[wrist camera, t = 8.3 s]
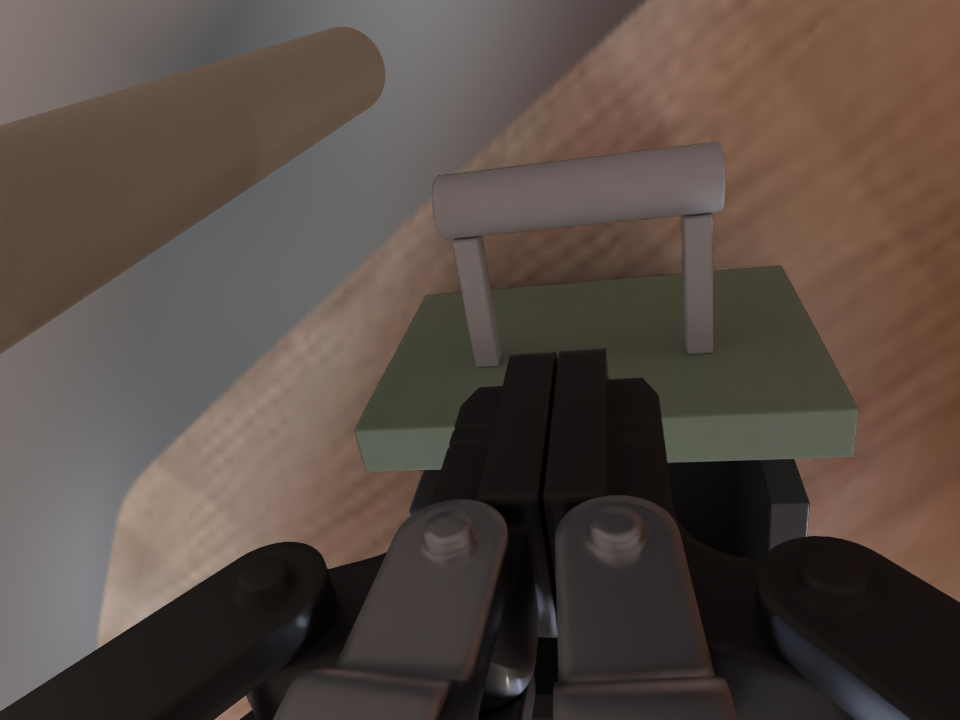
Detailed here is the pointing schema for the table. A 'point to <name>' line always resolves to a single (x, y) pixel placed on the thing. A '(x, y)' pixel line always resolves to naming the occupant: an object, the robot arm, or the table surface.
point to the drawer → (627, 347)
